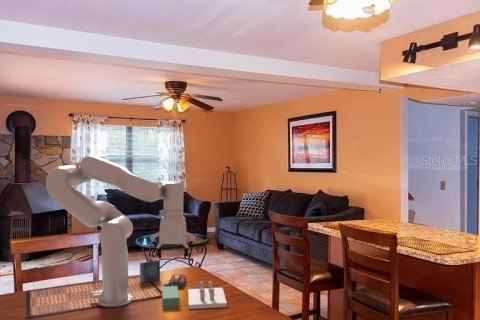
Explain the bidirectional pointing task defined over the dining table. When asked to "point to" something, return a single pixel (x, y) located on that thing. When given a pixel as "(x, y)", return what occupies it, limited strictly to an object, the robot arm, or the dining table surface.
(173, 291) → the green boxy piece
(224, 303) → the standoff plate
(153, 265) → the flask
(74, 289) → the dining table surface
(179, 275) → the walkie-talkie
